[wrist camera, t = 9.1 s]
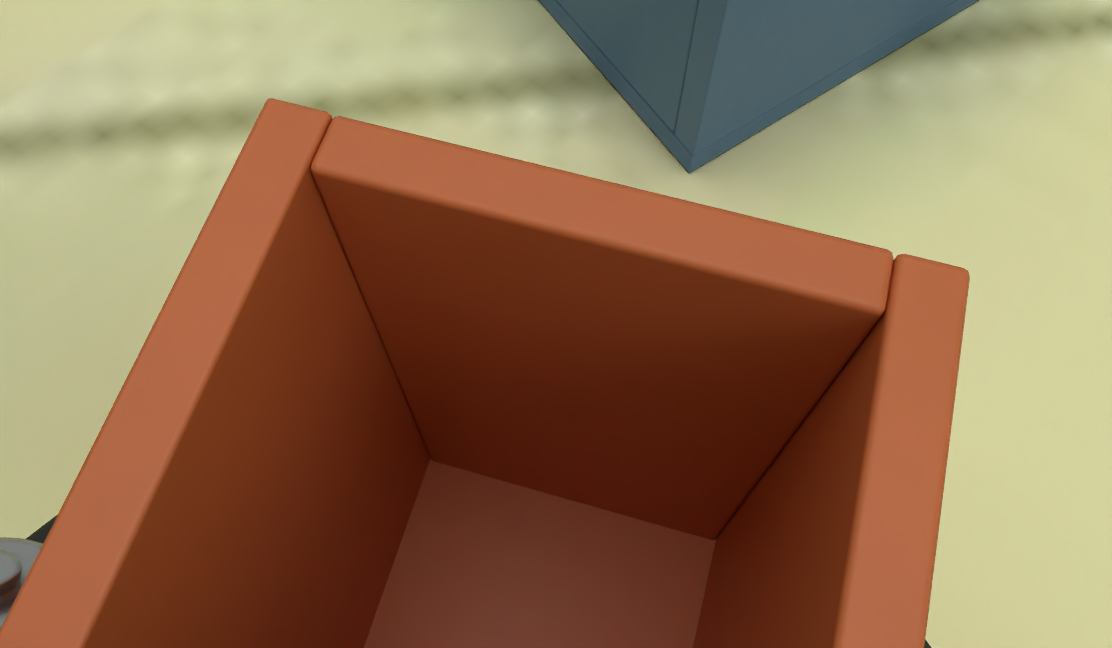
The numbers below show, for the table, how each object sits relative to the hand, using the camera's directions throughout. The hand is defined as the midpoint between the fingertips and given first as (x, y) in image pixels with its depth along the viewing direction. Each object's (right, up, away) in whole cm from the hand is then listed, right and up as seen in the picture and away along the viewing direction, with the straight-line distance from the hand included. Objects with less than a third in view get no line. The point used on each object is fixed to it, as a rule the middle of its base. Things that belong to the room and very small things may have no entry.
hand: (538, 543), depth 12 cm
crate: (0, -3, +3) cm, 5 cm away
